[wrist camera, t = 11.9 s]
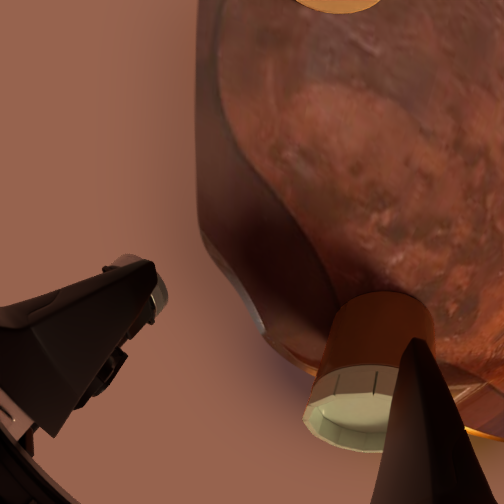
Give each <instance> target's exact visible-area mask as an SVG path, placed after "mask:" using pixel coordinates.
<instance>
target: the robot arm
mask: <svg viewBox="0 0 504 504" xmlns="http://www.w3.org/2000/svg"><path fill="white" fill-rule="evenodd" d="M102 271H103V273H102V274H99V275H96V276H94V277H91V278H88V279H86V280H83V281H80V282H77V283H75V284H72V285H69V286H66V287H64V288H61V289H58V290H55V291H53V292H50V293H47V294H44V295H41V296H38V297H35V298H32V299H29V300H25V301H22V302H19V303H15V304H12V305H9V306H5V307H0V504H80V503H79V502H78V501H77V500H76V499H74V498H73V497H72V496H71V495H70V494H69V493H67V492H66V491H65V490H64V489H63V488H62V487H61V486H60V485H59V484H57V483H56V482H55V481H54V480H53V479H52V478H51V477H50V476H49V475H48V474H47V473H46V472H45V471H44V470H43V469H42V468H41V467H40V466H39V465H38V464H37V463H36V462H35V461H34V460H33V459H32V457H33V456H34V444H33V434H34V432H35V431H36V430H37V429H38V428H39V427H41V428H42V429H43V430H45V431H46V432H47V433H48V434H49V435H50V436H51V437H53V438H55V437H56V435H57V434H58V432H59V431H60V429H61V428H62V426H63V424H64V423H65V421H66V419H67V418H68V417H69V415H70V413H71V412H72V411H73V410H76V409H79V408H82V407H83V406H84V405H85V404H86V403H87V401H88V400H89V398H91V396H92V397H95V396H97V395H99V394H100V393H102V392H103V391H104V390H105V389H106V388H107V387H108V386H109V385H110V383H111V382H112V380H113V379H114V377H115V376H116V374H117V373H118V371H119V369H120V368H121V366H122V365H123V363H124V362H125V360H126V359H127V357H128V355H127V354H126V353H125V352H123V351H122V350H121V348H120V347H121V346H122V345H123V344H124V343H125V342H126V341H127V339H129V340H131V339H132V338H133V337H134V336H135V335H136V334H137V333H138V332H139V331H140V330H141V328H142V327H143V326H144V325H145V324H146V323H148V324H150V325H153V324H154V323H155V320H154V317H153V313H152V309H151V305H150V301H149V297H150V295H151V294H152V292H153V290H154V289H155V287H156V285H157V282H158V279H157V274H156V269H155V264H154V263H153V262H152V261H149V260H146V259H142V260H139V261H136V262H133V263H130V264H128V265H125V266H122V267H119V268H116V269H113V268H110V267H108V266H104V267H103V268H102ZM464 429H465V427H464V424H463V421H462V419H461V416H460V414H459V412H458V409H457V407H456V404H455V402H454V400H453V397H452V395H451V393H450V391H449V388H448V386H447V384H446V382H445V379H444V377H443V375H442V373H441V371H440V369H439V367H438V364H437V362H436V360H435V358H434V356H433V354H432V352H431V350H430V348H429V346H428V344H427V342H426V341H425V340H424V339H421V338H417V337H413V338H412V339H411V340H410V342H409V344H408V346H407V347H406V349H405V351H404V352H403V354H402V357H401V360H400V365H399V370H398V375H397V379H396V384H395V388H394V392H393V396H392V401H391V406H390V413H389V419H388V426H387V432H386V437H385V443H384V448H383V453H382V458H381V462H380V467H379V471H378V476H377V480H376V484H375V488H374V492H373V496H372V499H371V503H370V504H498V503H497V502H496V500H495V498H494V496H493V494H492V491H491V489H490V487H489V484H488V482H487V480H486V477H485V475H484V473H483V471H482V468H481V466H480V464H479V462H478V459H477V457H476V455H475V452H474V450H473V447H472V445H471V442H470V440H469V437H468V434H467V432H466V430H464Z"/></svg>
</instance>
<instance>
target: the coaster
mask: <svg viewBox="0 0 504 504" xmlns="http://www.w3.org/2000/svg"><path fill="white" fill-rule="evenodd" d="M296 1H297V2H299V3H300V4H302V5H304V6H306V7H308V8H311V9H314V10H316V11H320V12H325V13H332V14H347V13H354V12H358V11H362V10H365V9H367V8H369V7H371V6H373V5H375V4H376V3H378V2H379V1H380V0H296Z"/></svg>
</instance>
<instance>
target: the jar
mask: <svg viewBox="0 0 504 504" xmlns="http://www.w3.org/2000/svg"><path fill="white" fill-rule="evenodd" d="M413 337H417V338H421V339H424V340H425V341H426V342H427V344H428V346H429V348H430V350H431V352H432V354H433V356H434V358H435V360H436V349H435V329H434V322H433V318H432V316H431V314H430V312H429V311H428V309H427V308H426V307H425V306H424V305H423V304H422V303H420V302H419V301H418V300H416V299H414V298H412V297H410V296H408V295H405V294H402V293H398V292H391V291H377V292H370V293H366V294H363V295H360V296H357V297H355V298H353V299H351V300H350V301H348V302H347V303H346V304H344V305H343V306H342V307H341V308H340V309H339V311H338V312H337V314H336V315H335V317H334V320H333V323H332V327H331V330H330V333H329V337H328V340H327V343H326V346H325V350H324V353H323V356H322V359H321V362H320V365H319V368H318V371H317V374H316V377H315V380H314V383H313V386H312V390H311V396H310V398H309V401H308V404H307V406H306V409H305V412H304V414H303V417H302V419H303V422H304V423H305V425H306V426H307V428H308V429H309V431H310V432H311V433H312V434H313V435H314V436H316V437H318V438H320V439H322V440H323V441H325V442H327V443H329V444H331V445H333V446H334V445H335V446H336V447H340V448H344V449H348V450H353V451H358V452H362V451H363V452H364V453H365V452H366V453H367V452H369V453H372V452H373V453H374V452H383V448H384V443H385V437H386V432H387V426H388V419H389V413H390V406H391V401H392V396H393V392H394V388H395V384H396V379H397V375H398V370H399V365H400V360H401V357H402V354H403V352H404V351H405V349H406V347H407V346H408V344H409V342H410V340H411V339H412V338H413Z"/></svg>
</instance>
